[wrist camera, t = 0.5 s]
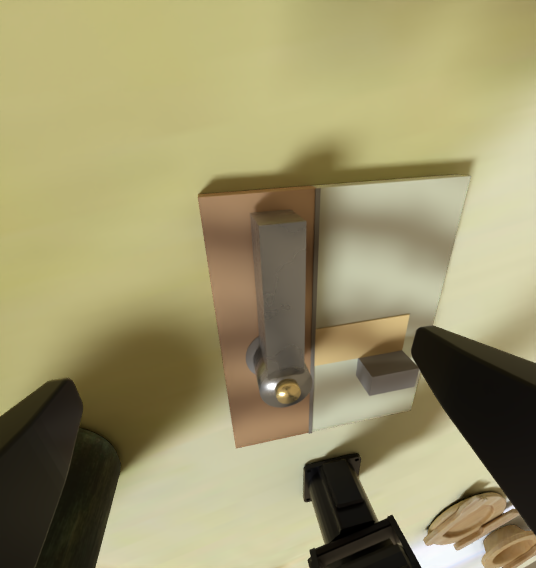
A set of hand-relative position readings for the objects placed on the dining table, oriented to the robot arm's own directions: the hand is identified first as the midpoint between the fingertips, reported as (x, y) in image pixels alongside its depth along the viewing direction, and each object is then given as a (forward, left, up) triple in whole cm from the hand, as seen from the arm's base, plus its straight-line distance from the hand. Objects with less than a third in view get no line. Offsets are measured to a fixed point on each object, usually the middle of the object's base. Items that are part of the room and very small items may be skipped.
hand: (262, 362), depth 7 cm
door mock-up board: (-8, -7, -12) cm, 16 cm away
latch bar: (-5, -3, -11) cm, 12 cm away
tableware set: (-51, -45, -13) cm, 69 cm away
